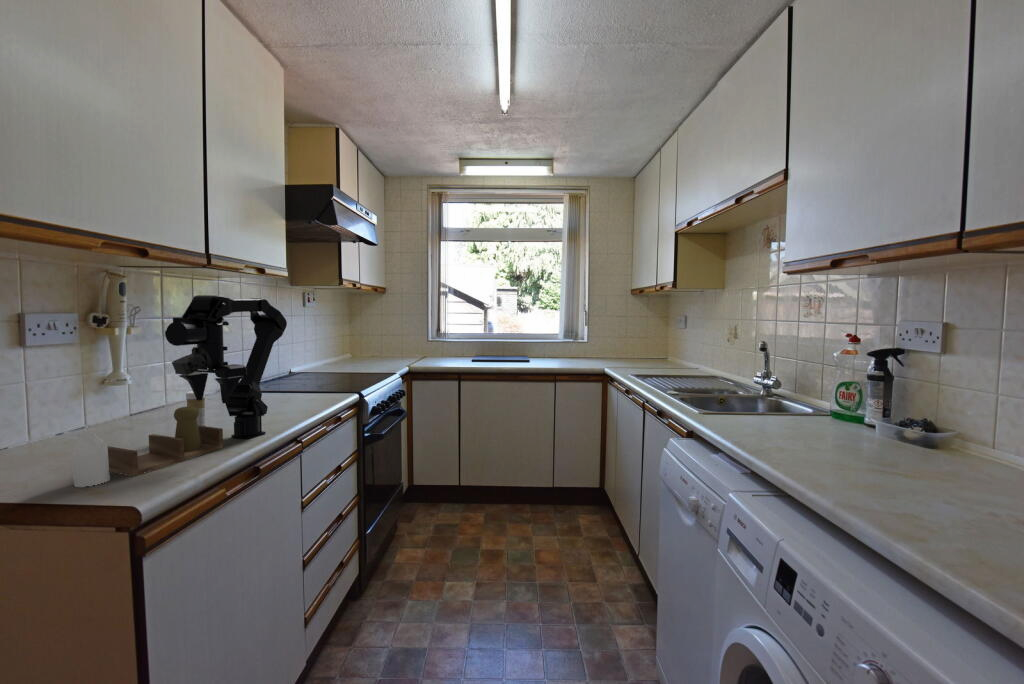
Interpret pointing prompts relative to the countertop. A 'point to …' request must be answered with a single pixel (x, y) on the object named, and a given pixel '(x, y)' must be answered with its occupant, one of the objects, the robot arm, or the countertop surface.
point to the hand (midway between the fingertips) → (212, 401)
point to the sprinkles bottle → (197, 406)
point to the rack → (162, 452)
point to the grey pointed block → (89, 460)
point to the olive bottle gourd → (188, 427)
